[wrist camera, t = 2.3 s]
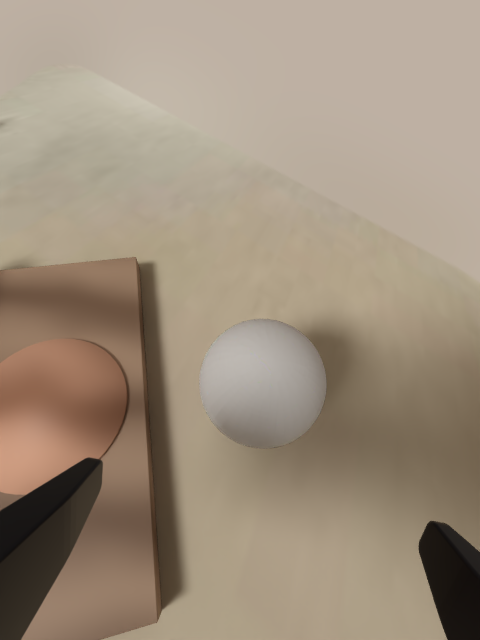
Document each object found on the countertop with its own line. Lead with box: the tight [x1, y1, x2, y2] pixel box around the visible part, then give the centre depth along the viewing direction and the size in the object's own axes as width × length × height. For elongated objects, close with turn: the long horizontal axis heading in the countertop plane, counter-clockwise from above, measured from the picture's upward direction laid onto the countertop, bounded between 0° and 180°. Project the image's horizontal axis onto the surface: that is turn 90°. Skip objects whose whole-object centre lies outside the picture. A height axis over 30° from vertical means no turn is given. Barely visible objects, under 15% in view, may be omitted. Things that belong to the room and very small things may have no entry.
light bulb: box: [199, 319, 327, 448], centre depth 16 cm, size 6×6×10 cm
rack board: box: [0, 257, 162, 640], centre depth 17 cm, size 22×13×4 cm, turn 12°
